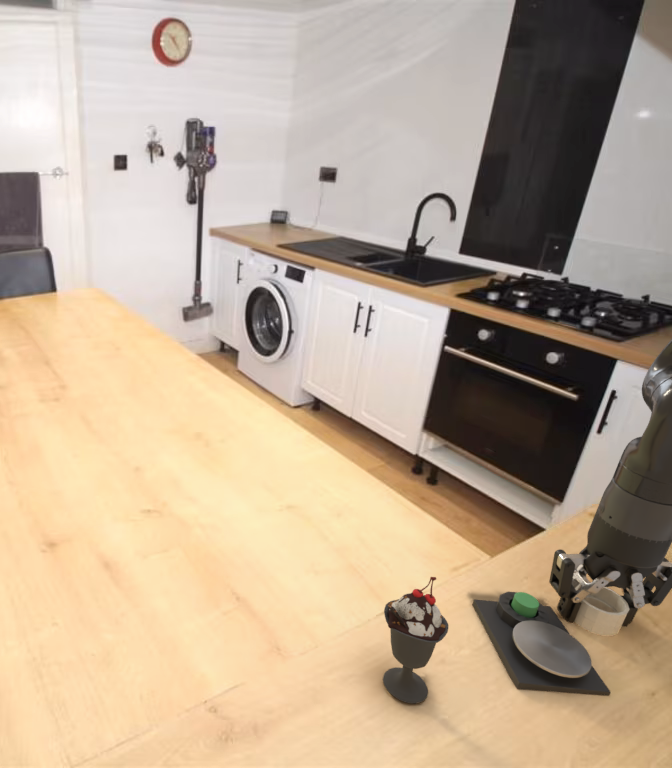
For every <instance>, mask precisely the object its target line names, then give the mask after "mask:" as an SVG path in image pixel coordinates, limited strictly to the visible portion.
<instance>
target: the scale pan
mask: <svg viewBox="0 0 672 768" xmlns="http://www.w3.org/2000/svg"><path fill="white" fill-rule="evenodd" d="M512 636H513V640H514V643H515V645H516V646H517V648H518V649H519V651H520V652H521V653H522V654H523V655H524V656H525V657H526V658H527V659H528V660H530V661H531V662H532V663H534V664H535V665H537V666H538V667H540V668H542V669H544V670H546V671H548V672H550V673H552V674H555V675H558V676H562V677H568V678H578V677H582V676H585V675H586V674H588V672H589V671H590V669H591V665H592V664H593V663H592V658H591V655H590V653H589V652H588V650H587V649H586V648H585V646H584V645H583V644H582V643H581V642H580V641H579V640H578V639H577V638H575V637H574V636H573V635H572V634H570V633H569V634H568V633H567V632H565V631H564V630H562V629H560V628H558V627H556V626H553V625H551V624H548V623H544V622H540V621H532V620H529V621H522V622H520V623H518V624H517V625H516V626H515V627H514V629H513V634H512ZM592 666H593V665H592Z"/></svg>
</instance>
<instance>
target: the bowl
mask: <svg viewBox="0 0 672 768" xmlns="http://www.w3.org/2000/svg"><path fill="white" fill-rule="evenodd" d="M591 582H592V581H590V583H591ZM580 587H581V584H579V585H578V586H577V587H576V588H575V589H576V590H578V589H579V588H580ZM620 595H621V594H619V593H617V591H615V590H614V589H611V588H610V587H603V588H602V589H601V590H600V591H599V592H597V593H596V594H592V593H591V594H589V595H588V596H587V597H586V598H585V599H583V600H582V601H581V603H582V604H581V606H580V609H579V611H578V613H577V616H576V618H575V620H574V622H573V623H575V624H576V625H577V626H578V627H580V628H581V629H584V630H585V631H587V632H589V633H591V634H594V635H598V636H603V637H612V636H613V637H614V636H615V635H618V634H619V632H620V631H621V628H623V626H622V625H623V622H624V620H625V618H626V616H627V614H628V612H629V610H630V609H629V606H628V603H627V602H626V601H625V600H624V598H623V597H622V596H623V595H622V596H620Z"/></svg>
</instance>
